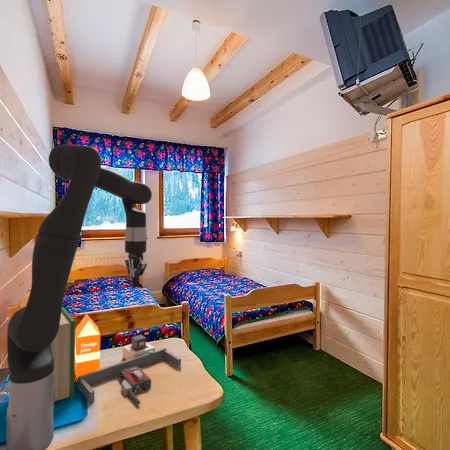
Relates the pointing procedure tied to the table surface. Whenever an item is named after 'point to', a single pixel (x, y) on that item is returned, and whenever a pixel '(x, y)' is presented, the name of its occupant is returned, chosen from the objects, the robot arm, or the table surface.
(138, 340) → the plug
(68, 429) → the table surface
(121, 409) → the table surface
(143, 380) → the walkie-talkie
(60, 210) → the robot arm
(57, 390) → the hardback book
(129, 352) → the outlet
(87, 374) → the cradle
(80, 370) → the orange juice
